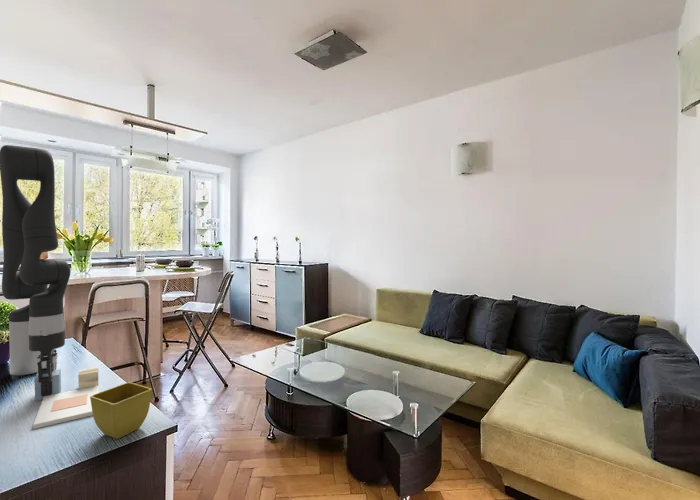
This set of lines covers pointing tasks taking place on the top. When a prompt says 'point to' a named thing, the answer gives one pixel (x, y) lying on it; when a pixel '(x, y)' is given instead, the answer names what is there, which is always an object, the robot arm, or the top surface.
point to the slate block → (55, 384)
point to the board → (65, 407)
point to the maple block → (88, 378)
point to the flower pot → (121, 409)
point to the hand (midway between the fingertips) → (48, 391)
